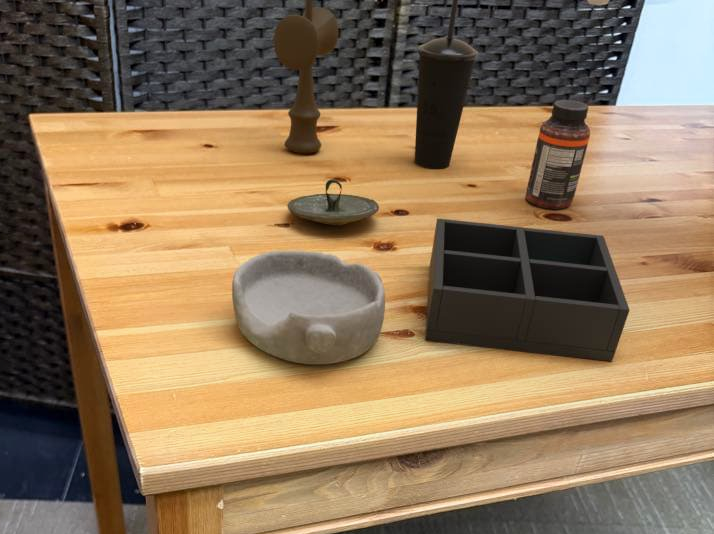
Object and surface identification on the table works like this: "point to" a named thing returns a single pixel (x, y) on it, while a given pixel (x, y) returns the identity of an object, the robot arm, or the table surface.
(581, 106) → the supplement bottle
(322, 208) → the lid
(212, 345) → the table surface
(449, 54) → the drinking cup
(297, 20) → the kendama
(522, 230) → the compartment organizer box
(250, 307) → the dish
